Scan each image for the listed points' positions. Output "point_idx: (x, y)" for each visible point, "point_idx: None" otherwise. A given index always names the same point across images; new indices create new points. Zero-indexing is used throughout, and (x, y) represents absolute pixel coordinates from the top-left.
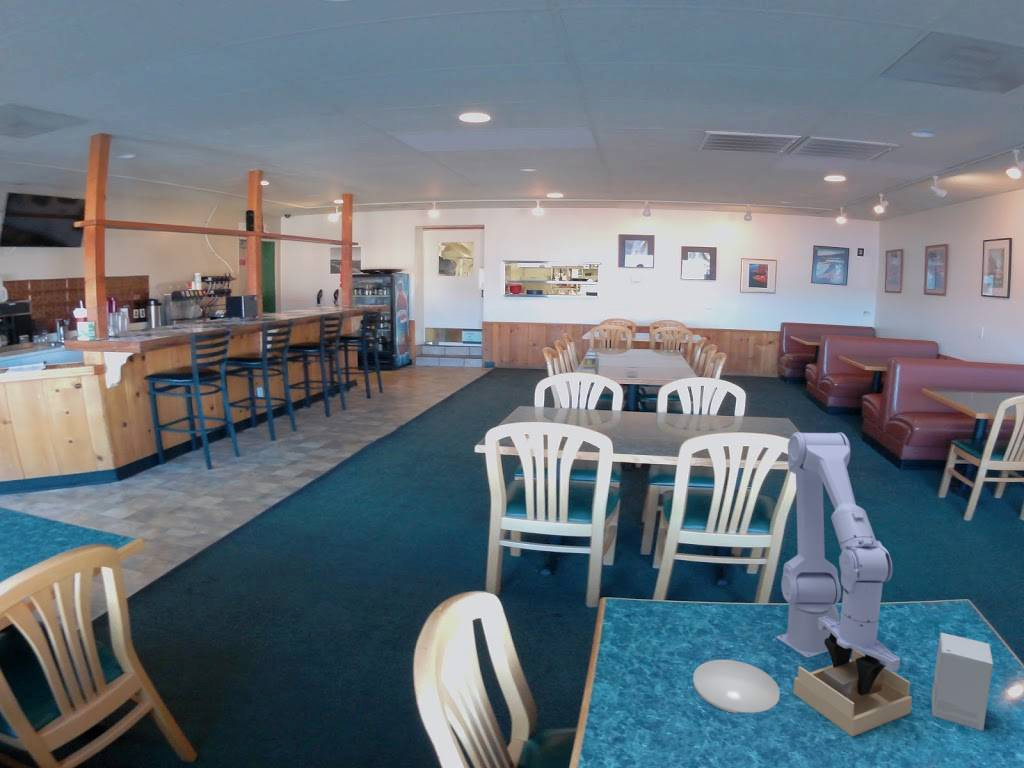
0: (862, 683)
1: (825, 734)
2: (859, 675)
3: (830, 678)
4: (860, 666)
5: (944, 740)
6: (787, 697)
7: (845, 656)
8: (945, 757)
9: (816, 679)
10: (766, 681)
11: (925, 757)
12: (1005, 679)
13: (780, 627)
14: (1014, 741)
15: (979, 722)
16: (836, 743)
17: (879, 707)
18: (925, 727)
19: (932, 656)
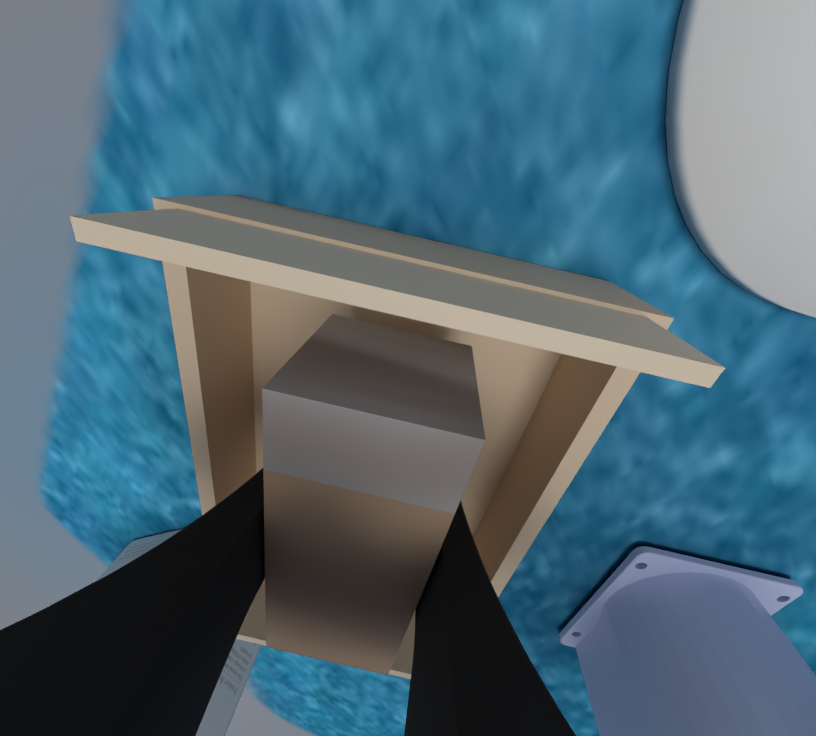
0: (226, 499)
1: (324, 97)
2: (217, 550)
3: (402, 405)
4: (61, 672)
5: (132, 458)
6: (629, 239)
7: (422, 667)
8: (64, 389)
9: (495, 313)
10: (813, 242)
11: (73, 340)
12: (254, 685)
13: (788, 633)
14: (93, 552)
15: (115, 565)
16: (246, 74)
17: (200, 425)
18: (194, 474)
19: (375, 688)
